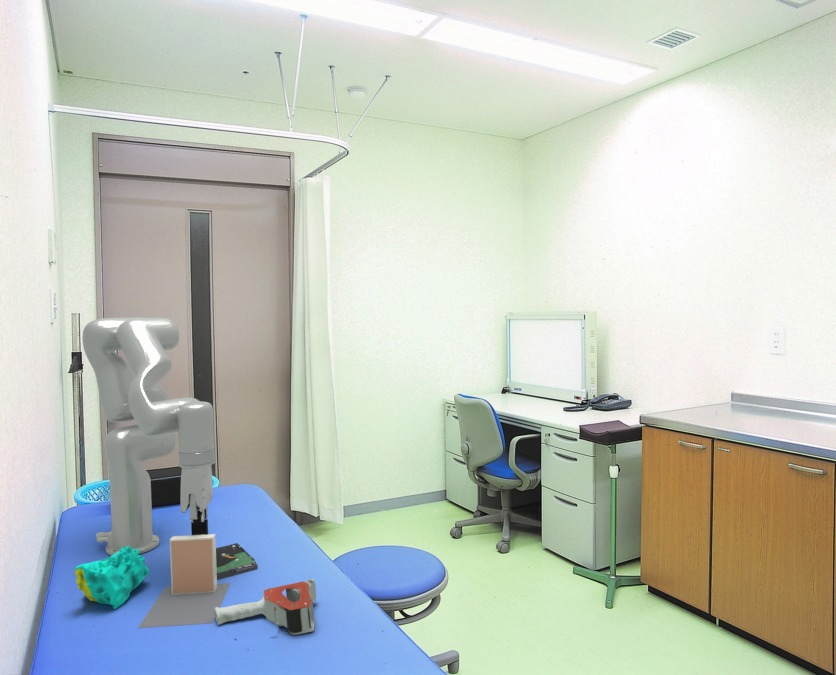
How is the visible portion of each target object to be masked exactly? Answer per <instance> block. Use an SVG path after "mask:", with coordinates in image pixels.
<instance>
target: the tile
mask: <svg viewBox="0 0 836 675" xmlns="http://www.w3.org/2000/svg"><path fill="white" fill-rule="evenodd" d="M216 541H217V539H216V533H210V534H209V533H208V534H207V535H192V534H190V535H172V537H171V538H170V539H169V554H170V579H171V581H170V582H171V583H170V584H171V585H170V587H172V595H177V594H193V593H209V592H215V591H216V589H217V584H218V580H217V567H216V548H217V546H216V545H217V542H216Z"/></svg>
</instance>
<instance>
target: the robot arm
mask: <svg viewBox="0 0 836 675" xmlns="http://www.w3.org/2000/svg"><path fill="white" fill-rule="evenodd" d="M81 340H82V347H83V351H84V354H85V357H86V358H87V360H88V362H89V364H90V366H91V367H92V369H93V372H94V375H95V379H96V382H97V383H96V384H97V389H98V394H99V398H100V403H101V408H102V412H103V415H104V416H105V419H106V420H107V421H108V422H110V423H117V424H118V423H119V424H120V423H125V422H133V421H135V423H136V424H132V425H128V426H121V427H118V428H115V429H113V430H111V431H109V432H108V433H107V434H106V435H105V437H104V440H103V450H104V454H105V460H106V464H107V469H108V478H109V497H110V516H111V519H110V520H111V530H109V532H106V531H100V532H97V533H96V535H95V540H96V542H97V543H107V545H106V546H105V553H106V554H107V555H109V556H112V555H113V554H114V553H117V552H118V551H120V550H121V549H120V548H121V547H125V546H130V547H131V548H132V550H134V549H139V555H141V554H144V553H147V552H149V551H152V550H153V549H155V548H156V547H158V546H159V544H160V536H158V535H156V534H153V513H152V512H153V510H152V508H153V507H152V485H151V484H152V483H151V477H150V474H149V472H148V471H147V470H146V469H145V468H144V467H143V466H142V465H141V462H142V463H143V462H145V461H148V460H153V459H158V458H162V457H166V456H169V455H171V454H173V452H175V449H176V448H177V446H178V465H179V468H181V473H180V474H181V475H180V498H179V499H180V501H179V502H180V505H179V506H180V513H182V514H185V513H186V512H187V511H188V509H189V520H190V525H191V526H190V527H191V529H190V530H191V532H190V533H191V535H207V534H209V521H208V506H209V505H210V503H211V502H212V499H213V496H214V494H213V493H214V488H213V486H214V484H213V471H212V469H213V468H212V465H214V464H215V463H216V456H215V455H216V453H215V429H214V428H215V427H214V425H215V423H214V422H215V421H214V407H213V405H212V404H211V403H210V402H208V401H202V400H201V401H200V400H199V399H198V398H195V397H190V396H189V397H182V398H181V397H179V398H171V399H169V397H168V394H167V392H166V390H165V389H164V387H163V386H161V385H160V384H158V382H159V381H161V380H163V379H164V378H165V377H166V376H167V375H168V374H170V371H171V369H172V365H173V364H172V360H171V358H170V357H169V355H168V354H167V352H166V351H171V350H173V349H175V348H176V347H177V346H178V344H179V343H180V332H179V329H178V326H177V324H176V323H175V322H174V321H173V320H172V319H170V318H167V317H147V316H146V317H145V316H142V317H141V316H140V317H136V316H135V317H134V316H133V317H131V316H130V317H106V318H104V317H103V318H98V319H93V320H91V321H90V322H87V324H85V326H84V327H83V330H82V339H81ZM116 351H122V352H123V354H124V356H125V358H126V359H127V361H126V360H125V359H124V358H123V357H122V356H121V355H120V354H118V353H117V352H116ZM133 374H134V375H133ZM176 432H177V433H176ZM177 439H178V440H177ZM177 441H178V442H177ZM177 443H178V445H177Z"/></svg>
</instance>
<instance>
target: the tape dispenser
mask: <svg viewBox="0 0 836 675" xmlns="http://www.w3.org/2000/svg"><path fill="white" fill-rule="evenodd" d="M284 591H285V594H286V595H285V594H283V592H284ZM316 600H317V588H316V581H315V579H313V578H312V579H311V578H308V579H306V580H304V581H303V580H302V581H299V582H294V583H289V584H285V585H280V586H276V587H270V588H266V589H263V597H262V598H261V599H259V601H254V602H253V601H252V602H247V603H246V602H244V603H238V604H234V605H228V606H224V607H223V606H222V607H220V608H219V607H216V608H215V609H214V611H215V621H216V623H217V625H218V626H220V625H222V624H225V623H227V622H232V621H233V622H234V621H237V620H242V619H246V618H251V617H255V616H257V615H263V616H265V617H266V620H268V621H269V622H271V623H273V624H275V625H277V626H278V627H285V628H286V629H287V631H288V633H289V634H290V635H293V636H295V635H301V634H307V633H310V632H314V630H315V613H314V606H313V602H315V601H316Z"/></svg>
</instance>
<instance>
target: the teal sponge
mask: <svg viewBox="0 0 836 675" xmlns="http://www.w3.org/2000/svg"><path fill="white" fill-rule="evenodd" d="M120 549H121V550H120V551H118V552H117V553H114V554H113V555H109V556H107V558H102V559H101V560H96V561H95V560H94V561H91V562H87V563H81V564H79V565H77V566H76V567H75V568H74V572H75V573H74V574H75V577H76V580H75V582H76V584H77V589H78V590H80V591H81V592H82V593H83V595H84V596H85V597H86V598H87V599H88V600H89V601H91V602H97V603H98V604H100V605H101V604H104V605H105V604H107V605H109V606H112V609H113V610H116V609H118V608H120V606H121V605H123V604H124V603H125V602H126V601H127V600H128V599H129V598H130V595H131V594H130V593H131V592H133V590H135V589H136V588H137V587H138V586H139V585H140V584H141V583H142V581H144V579H145V578H146V577H147V576H148V574H149V573H150V569H149V567H148V566H147V565H146V564H145V560H146V559H145V557H144V556H142V555H141V554H139V549H134V550H132V548H131V547H130V546H125V547H121V548H120Z"/></svg>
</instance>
